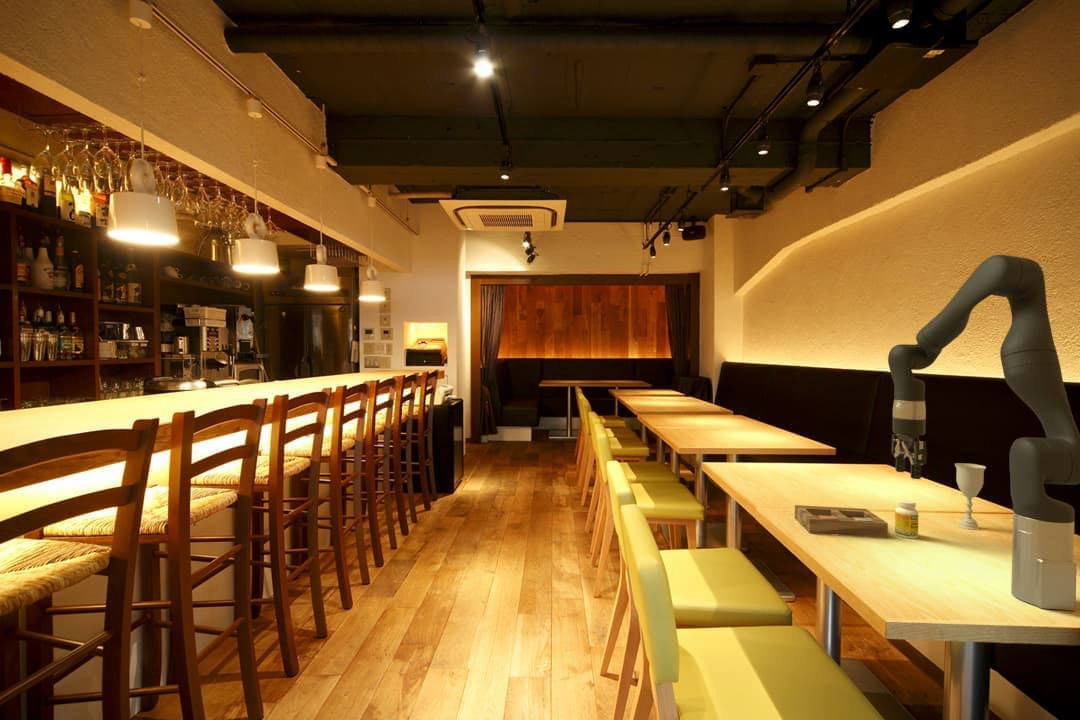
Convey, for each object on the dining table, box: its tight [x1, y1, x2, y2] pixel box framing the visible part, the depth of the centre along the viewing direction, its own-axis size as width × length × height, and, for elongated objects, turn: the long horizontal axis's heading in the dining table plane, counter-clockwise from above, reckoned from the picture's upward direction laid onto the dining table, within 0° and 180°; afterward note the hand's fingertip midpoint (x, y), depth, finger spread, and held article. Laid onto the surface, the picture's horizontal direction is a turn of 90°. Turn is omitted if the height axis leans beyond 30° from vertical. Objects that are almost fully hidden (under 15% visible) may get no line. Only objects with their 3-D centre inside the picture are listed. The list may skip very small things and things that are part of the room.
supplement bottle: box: [894, 499, 919, 540], centre depth 150 cm, size 5×5×10 cm
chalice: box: [954, 462, 987, 531], centre depth 158 cm, size 7×7×18 cm
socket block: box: [794, 504, 889, 539], centre depth 157 cm, size 14×20×4 cm
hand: (907, 475), depth 150 cm, fingers open, 8 cm apart
